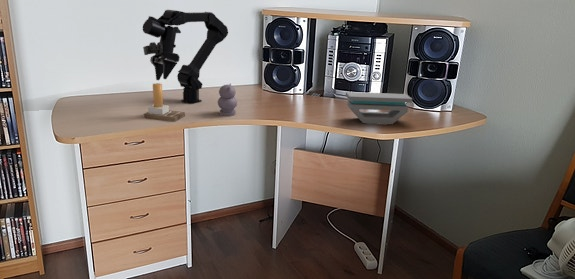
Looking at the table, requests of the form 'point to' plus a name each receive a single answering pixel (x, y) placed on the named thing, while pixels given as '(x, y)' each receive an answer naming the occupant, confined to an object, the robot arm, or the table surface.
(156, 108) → the rubber stamp
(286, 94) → the table surface
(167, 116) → the walnut board
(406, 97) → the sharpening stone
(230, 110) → the grey stacked rounded piece
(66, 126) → the table surface
